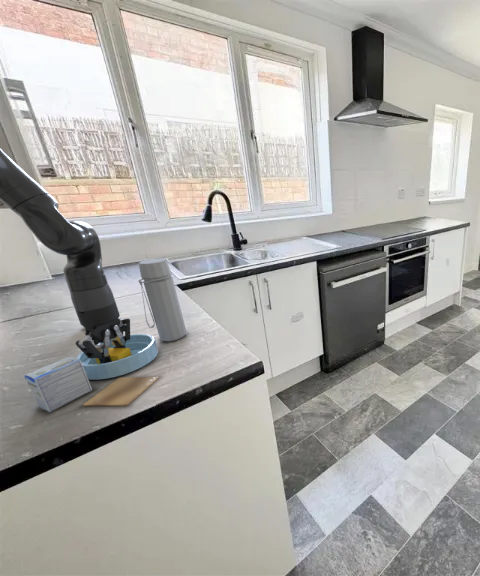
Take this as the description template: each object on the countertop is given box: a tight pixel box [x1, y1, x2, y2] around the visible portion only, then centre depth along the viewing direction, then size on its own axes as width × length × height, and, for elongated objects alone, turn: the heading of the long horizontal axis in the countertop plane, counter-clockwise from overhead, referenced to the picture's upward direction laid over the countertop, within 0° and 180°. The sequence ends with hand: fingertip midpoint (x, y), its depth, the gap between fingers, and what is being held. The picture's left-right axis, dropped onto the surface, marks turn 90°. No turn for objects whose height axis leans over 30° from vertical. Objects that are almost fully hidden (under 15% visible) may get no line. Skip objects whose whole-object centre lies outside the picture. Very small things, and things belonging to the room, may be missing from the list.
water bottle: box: [137, 257, 187, 342], centre depth 93 cm, size 9×8×25 cm
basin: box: [75, 333, 159, 381], centre depth 84 cm, size 16×16×5 cm
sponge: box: [95, 348, 132, 364], centre depth 82 cm, size 6×4×4 cm, turn 90°
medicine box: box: [24, 356, 93, 413], centre depth 69 cm, size 8×4×9 cm, turn 159°
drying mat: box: [82, 376, 160, 407], centre depth 73 cm, size 10×10×1 cm
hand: (116, 362), depth 82 cm, fingers closed on sponge, 4 cm apart
